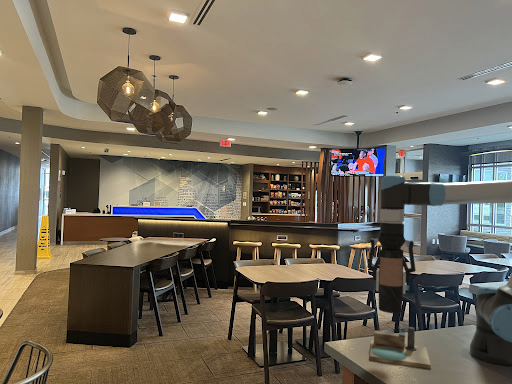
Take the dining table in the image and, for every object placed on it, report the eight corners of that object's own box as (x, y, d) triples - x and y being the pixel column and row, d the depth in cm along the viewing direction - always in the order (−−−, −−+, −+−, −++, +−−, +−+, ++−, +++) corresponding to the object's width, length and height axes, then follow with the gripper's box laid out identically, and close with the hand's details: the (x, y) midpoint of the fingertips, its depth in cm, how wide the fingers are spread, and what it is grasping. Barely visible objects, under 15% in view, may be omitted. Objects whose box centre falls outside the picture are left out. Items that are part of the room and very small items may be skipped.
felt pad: (406, 350, 134) (406, 349, 134) (408, 362, 123) (408, 361, 123) (372, 345, 137) (372, 344, 137) (371, 357, 127) (371, 356, 127)
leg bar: (405, 344, 137) (405, 332, 137) (405, 347, 134) (405, 335, 134) (374, 340, 141) (374, 328, 141) (373, 343, 138) (374, 331, 138)
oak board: (425, 350, 137) (425, 326, 137) (430, 368, 122) (431, 341, 122) (371, 343, 143) (371, 320, 143) (369, 359, 127) (370, 334, 128)
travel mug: (404, 314, 126) (405, 251, 127) (379, 312, 128) (380, 250, 128) (400, 308, 134) (401, 248, 134) (376, 306, 135) (378, 247, 136)
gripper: (424, 223, 132) (422, 292, 131) (360, 220, 138) (359, 286, 137) (426, 224, 124) (425, 297, 124) (359, 221, 131) (357, 290, 130)
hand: (390, 291), depth 131 cm, fingers closed on travel mug, 8 cm apart
